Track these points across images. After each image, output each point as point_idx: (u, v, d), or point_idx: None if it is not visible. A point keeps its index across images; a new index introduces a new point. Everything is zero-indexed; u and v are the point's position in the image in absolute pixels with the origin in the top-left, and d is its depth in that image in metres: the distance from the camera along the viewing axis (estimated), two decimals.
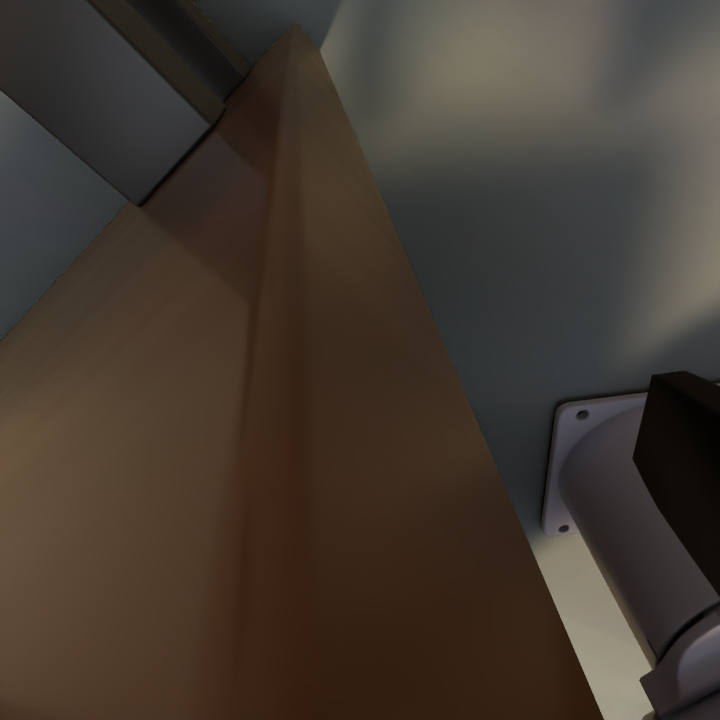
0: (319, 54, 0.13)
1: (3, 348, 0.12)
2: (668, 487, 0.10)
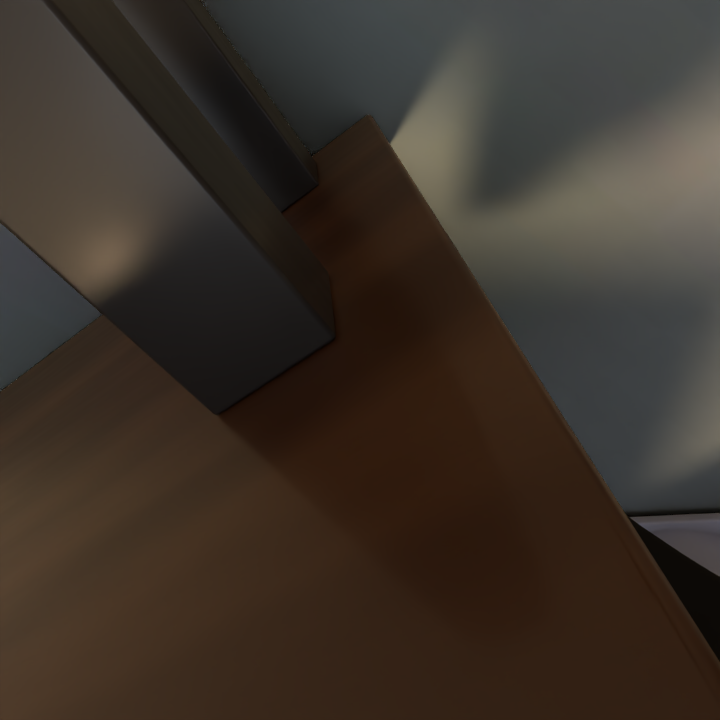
0: None
1: None
2: None
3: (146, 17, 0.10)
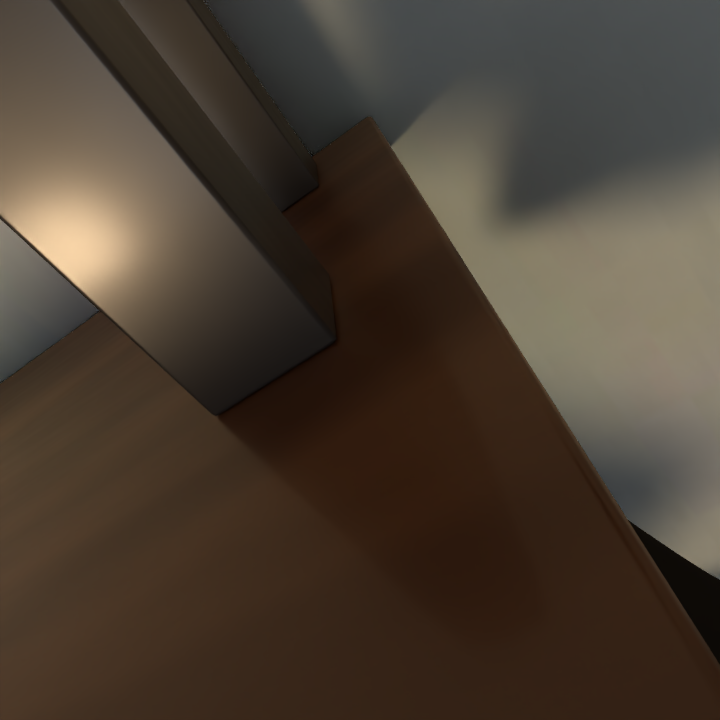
0: None
1: None
2: None
3: (148, 15, 0.10)
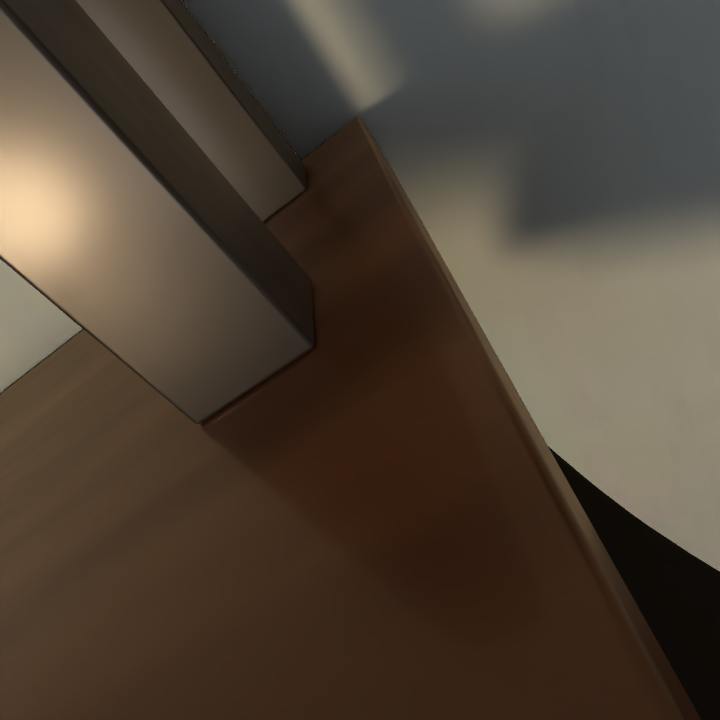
0: (394, 173, 0.11)
1: None
2: None
3: (130, 25, 0.10)
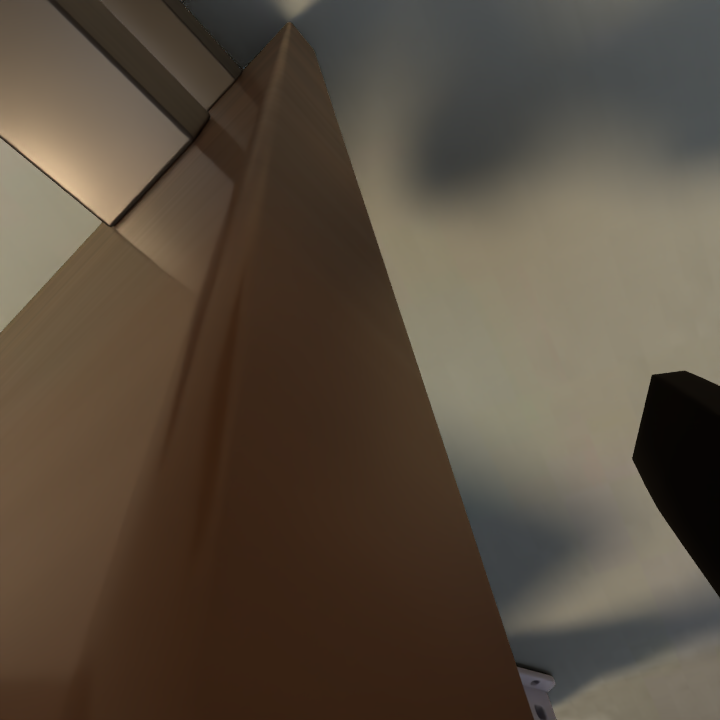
0: (314, 56, 0.12)
1: None
2: (668, 487, 0.10)
3: None
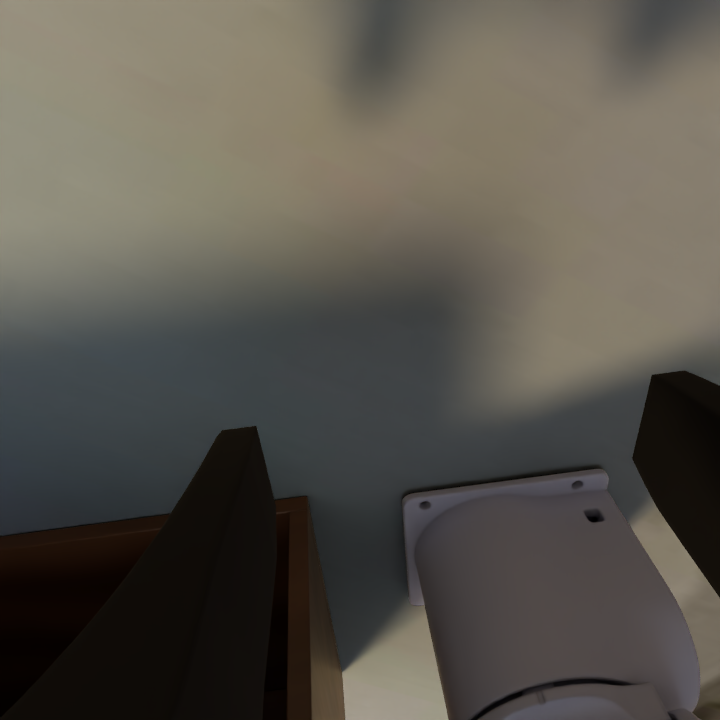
0: None
1: None
2: (668, 487, 0.10)
3: None
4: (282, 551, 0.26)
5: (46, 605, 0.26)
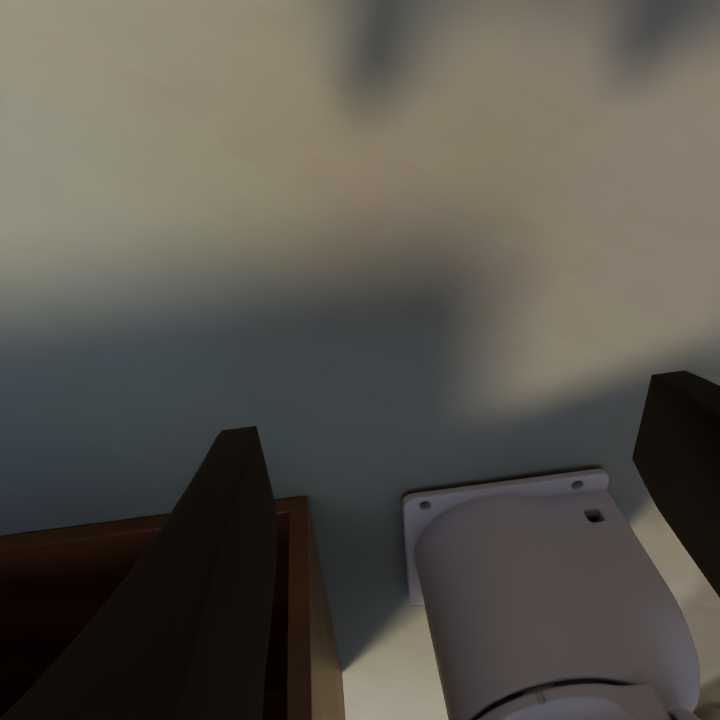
0: None
1: None
2: (668, 487, 0.10)
3: None
4: (282, 551, 0.26)
5: (46, 605, 0.26)
